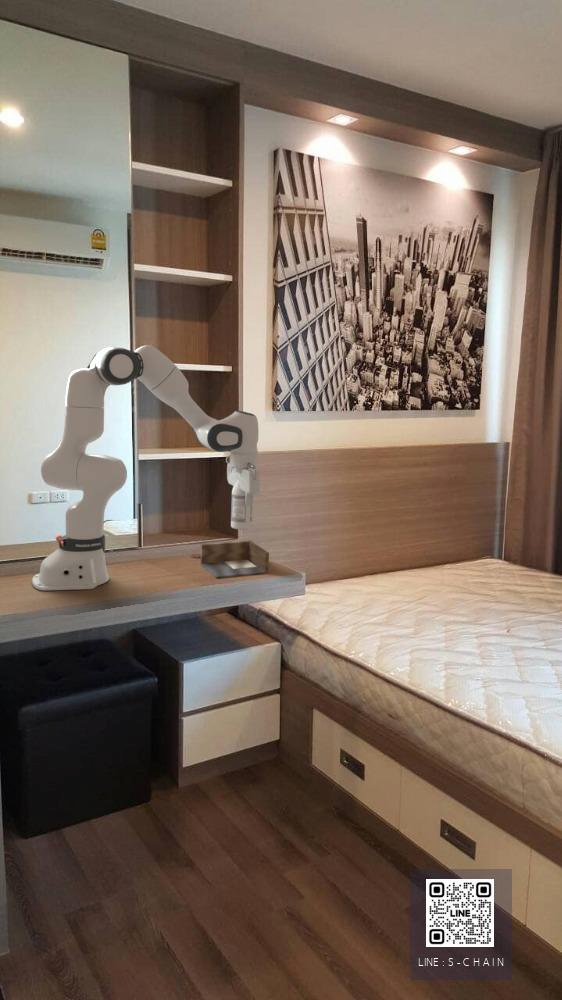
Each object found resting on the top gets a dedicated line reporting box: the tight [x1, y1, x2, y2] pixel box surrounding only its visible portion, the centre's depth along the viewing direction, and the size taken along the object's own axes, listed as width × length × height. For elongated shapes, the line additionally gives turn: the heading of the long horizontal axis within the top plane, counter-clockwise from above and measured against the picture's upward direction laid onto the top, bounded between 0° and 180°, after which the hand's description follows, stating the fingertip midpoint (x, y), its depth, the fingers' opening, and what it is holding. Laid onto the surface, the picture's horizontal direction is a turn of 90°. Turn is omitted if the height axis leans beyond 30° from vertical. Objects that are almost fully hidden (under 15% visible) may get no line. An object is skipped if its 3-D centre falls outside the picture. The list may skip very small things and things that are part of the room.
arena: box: [199, 540, 270, 579], centre depth 238 cm, size 18×16×7 cm
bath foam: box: [230, 473, 254, 531], centre depth 238 cm, size 7×7×20 cm
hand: (242, 502), depth 238 cm, fingers closed on bath foam, 7 cm apart
